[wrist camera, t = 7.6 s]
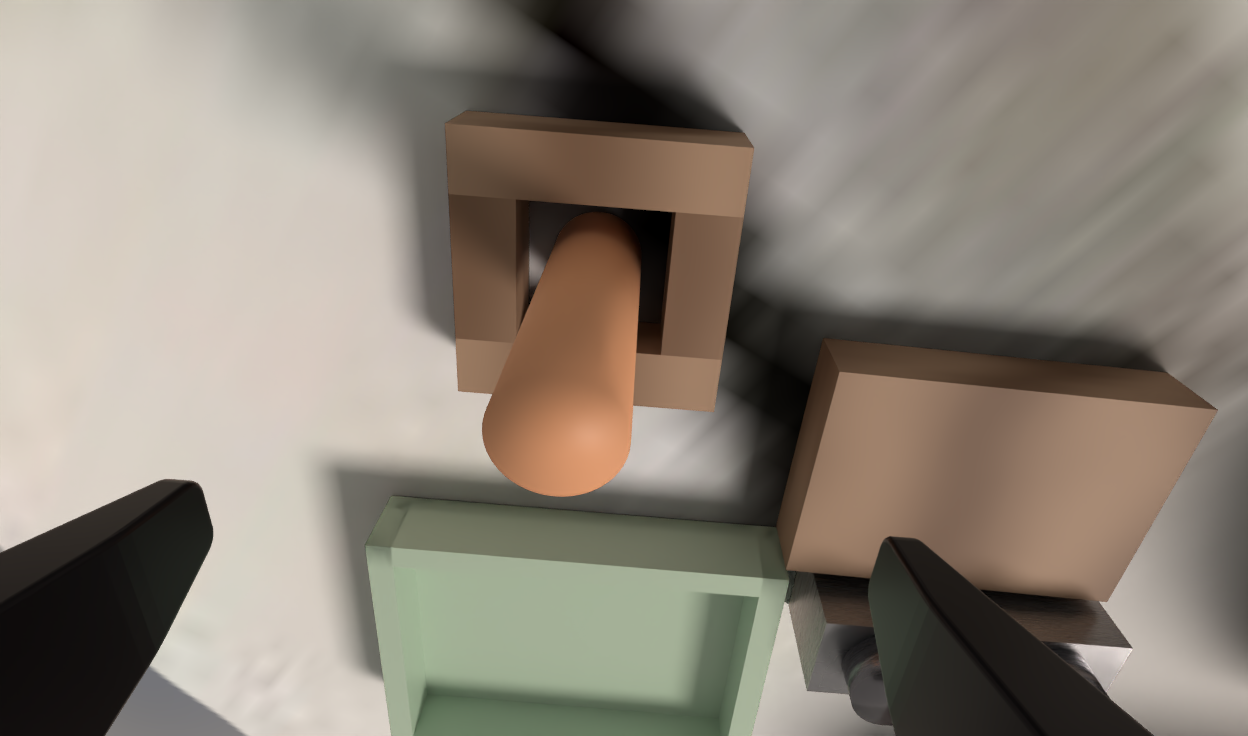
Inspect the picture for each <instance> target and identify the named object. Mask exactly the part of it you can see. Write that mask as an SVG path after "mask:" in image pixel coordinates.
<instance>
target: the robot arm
mask: <svg viewBox="0 0 1248 736" xmlns="http://www.w3.org/2000/svg"><path fill="white" fill-rule="evenodd" d="M212 541H213V526H212V523H211V519H210V515H209V512H208V508H207V504H206V501H205V497H204V493H203V490H202V488H201V486H200V485H199V484H198V483H196V482H194V481H189V480H176V479H164V480H160V481H158V482H155V483H153V484H151V485H149V486H147V487H144V488H142V489H140V490H138V491H136V492H133V493H131V494H129V495H127V496H125V497H122V498H120V499H118V500H116V501H113V502H111V503H109V504H107V505H105V506H102V507H100V508H98V509H96V510H94V511H91V512H89V513H87V514H85V515H83V516H80V517H78V518H76V519H74V520H72V521H69V522H67V523H65V524H63V525H60V526H58V527H56V528H54V529H52V530H49V531H47V532H45V533H43V534H41V535H38V536H36V537H34V538H32V539H30V540H27V541H25V542H23V543H21V544H19V545H16V546H14V547H12V548H10V549H7V550H5V551H3V552H1V553H0V736H105V735H106V733H107V732H108V730H109V729H110V727H111V726H112V724H113V722H114V721H115V719H116V718H117V716H118V715H119V713H120V711H121V710H122V708H123V707H124V705H125V704H126V702H127V700H128V699H129V697H130V696H131V694H132V692H133V691H134V689H135V688H136V686H137V685H138V683H139V681H140V680H141V678H142V677H143V675H144V674H145V672H146V670H147V669H148V667H149V665H150V664H151V662H152V660H153V659H154V657H155V655H156V654H157V652H158V650H159V648H160V646H161V645H162V643H163V641H164V639H165V637H166V635H167V633H168V631H169V629H170V627H171V625H172V623H173V621H174V619H175V617H176V615H177V613H178V611H179V609H180V607H181V605H182V603H183V601H184V599H185V597H186V595H187V593H188V591H189V590H190V588H191V586H192V584H193V582H194V580H195V578H196V576H197V574H198V572H199V570H200V568H201V566H202V564H203V562H204V560H205V558H206V556H207V554H208V552H209V550H210V547H211V544H212ZM868 598H869V605H870V610H871V616H872V621H873V627H874V632H875V638H876V643H877V649H878V654H879V660H880V665H881V671H882V676H883V682H884V687H885V693H886V698H887V702H888V707H889V712H890V716H891V719H892V723H893V727H894V731H895V734H896V736H1154V735H1153V734H1151V733H1150V732H1149V731H1148V730H1147V729H1145V728H1144V727H1143V726H1142V725H1141V724H1139V723H1138V722H1137V721H1136V720H1135V719H1133V718H1132V717H1131V716H1130V715H1129V714H1127V713H1126V712H1125V711H1124V710H1123V709H1121V708H1120V707H1119V706H1118V705H1117V704H1115V703H1114V702H1113V701H1112V700H1111V699H1110V698H1108V697H1107V696H1106V695H1105V694H1104V693H1102V692H1101V691H1100V690H1099V689H1098V688H1096V687H1095V686H1094V685H1093V684H1092V683H1090V682H1089V681H1088V680H1087V679H1086V678H1084V677H1083V676H1082V675H1081V674H1080V673H1078V672H1077V671H1076V670H1075V669H1074V668H1072V667H1071V666H1070V665H1069V664H1068V663H1066V662H1065V661H1064V660H1063V659H1062V658H1060V657H1059V656H1058V655H1057V654H1056V653H1055V652H1053V651H1052V650H1051V649H1050V648H1049V647H1047V646H1046V645H1045V644H1044V643H1043V642H1041V641H1040V640H1039V639H1038V638H1037V637H1035V636H1034V635H1033V634H1032V633H1031V632H1029V631H1028V630H1027V629H1026V628H1025V627H1023V626H1022V625H1021V624H1020V623H1019V622H1017V621H1016V620H1015V619H1014V618H1013V617H1011V616H1010V615H1009V614H1008V613H1007V612H1005V611H1004V610H1003V609H1002V608H1001V607H1000V606H998V605H997V604H996V603H995V602H994V601H992V600H991V599H990V598H989V597H988V596H986V595H985V594H984V593H983V592H982V591H980V590H979V589H978V588H977V587H976V586H974V585H973V584H972V583H971V582H970V581H968V580H967V579H966V578H965V577H964V576H962V575H961V574H960V573H959V572H958V571H956V570H955V569H954V568H953V567H952V566H950V565H949V564H948V563H947V562H946V561H945V560H943V559H942V558H941V557H940V556H939V555H937V554H936V553H935V552H934V551H933V550H931V549H930V548H929V547H928V546H927V545H925V544H924V543H923V542H922V541H920V540H918V539H916V538H909V537H896V536H889V537H887V538H885V539H884V540H883V542H882V544H881V546H880V549H879V552H878V555H877V559H876V562H875V565H874V568H873V571H872V575H871V578H870V581H869V587H868Z"/></svg>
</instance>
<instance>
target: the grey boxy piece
mask: <svg viewBox="0 0 1248 736" xmlns="http://www.w3.org/2000/svg"><path fill="white" fill-rule="evenodd" d="M869 581H870V578H861V577H851V576H841V575H831V574H821V573H810V572H800V571H797V573H796V577H795V581H794V585H793V589H792V593H791V597H790V601H789V609H790V614H791V619H792V623H793V628H794V633H795V637H796V642H797V647H798V651H799V656H800V660H801V665H802V670H803V674H804V679H805V684H806V688H807V691H816V692H828V693H840V694H849V696H850V700H851V703H852V707H853V709H854V711H855V712H856V713H857V715H858V716H860V717H861V718H862V719H864V720H866V721H868V722H871V723H874V724H879V725H893V723H892V719H891V716H890V712H889V707H888V702H887V698H886V693H885V687H884V682H883V676H882V671H881V665H880V660H879V654H878V649H877V643H876V638H875V632H874V627H873V621H872V616H871V610H870V605H869V598H868V587H869ZM979 590H980V591H982V592H983V593H984V594H985V595H986V596H988V597H989V598H990V599H991V600H992V601H994V602H995V603H996V604H997V605H998V606H1000V607H1001V608H1002V609H1003V610H1004V611H1005V612H1007V613H1008V614H1009V615H1010V616H1011V617H1013V618H1014V619H1015V620H1016V621H1017V622H1019V623H1020V624H1021V625H1022V626H1023V627H1025V628H1026V629H1027V630H1028V631H1029V632H1031V633H1032V634H1033V635H1034V636H1035V637H1037V638H1038V639H1039V640H1040V641H1041V642H1043V643H1044V644H1045V645H1046V646H1047V647H1049V648H1050V649H1051V650H1052V651H1053V652H1055V653H1056V654H1057V655H1058V656H1059V657H1060V658H1062V659H1063V660H1064V661H1065V662H1066V663H1068V664H1069V665H1070V666H1071V667H1072V668H1074V669H1075V670H1076V671H1077V672H1078V673H1080V674H1081V675H1082V676H1083V677H1084V678H1086V679H1087V680H1088V681H1089V682H1090V683H1092V684H1093V685H1094V686H1095V687H1096V688H1098V689H1099V690H1100V691H1101V692H1102V693H1104V694H1105V695H1106V696H1107V697H1108V698H1109V696H1108V695H1107V691H1108V689H1109V688H1110V686H1111V684H1112V683H1113V681H1114V679H1115V678H1116V676H1117V674H1118V673H1119V671H1120V669H1121V668H1122V666H1123V664H1124V663H1125V661H1126V659H1127V658H1128V656H1129V654H1130V653H1131V651H1132V649H1133V648H1132V647H1131V645H1130V644H1129V642H1128V641H1127V640H1126V638H1125V637H1124V636H1123V634H1122V633H1121V631H1120V630H1119V629H1118V627H1117V626H1116V625H1115V623H1114V622H1113V621H1112V619H1111V618H1110V616H1109V615H1108V614H1107V612H1106V611H1105V610H1104V608H1103V607H1102V605H1101V604H1100V603H1099V601H1092V600H1082V599H1072V598H1062V597H1052V596H1042V595H1031V594H1021V593H1011V592H1001V591H991V590H981V589H979Z"/></svg>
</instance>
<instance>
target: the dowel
mask: <svg viewBox="0 0 1248 736" xmlns="http://www.w3.org/2000/svg"><path fill="white" fill-rule="evenodd" d="M641 260H642V251H641V245H640V242H639V239H638V237H637V235H636V233H635V232H634V230H633V229H632V228H631V227H630V226H629V225H628V224H627V223H626V222H625V221H624V220H622V219H621V218H619V217H617V216H615V215H612V214H609V213H605V212H588V213H584V214H581V215H579V216H577V217H575V218H573V219H572V220H570V221H569V222H568V223H567V224H566V225H565V226H564V227H563V229H562V230H561V231H560V233H559V235H558V237H557V240H556V242H555V244H554V247H553V249H552V252H551V254H550V257H549V259H548V261H547V264H546V266H545V269H544V271H543V273H542V276H541V278H540V281H539V283H538V285H537V288H536V290H535V293H534V295H533V298H532V300H531V302H530V305H529V307H528V310H527V312H526V314H525V317H524V319H523V322H522V324H521V326H520V329H519V331H518V334H517V336H516V339H515V341H514V343H513V346H512V348H511V351H510V353H509V355H508V358H507V360H506V363H505V365H504V367H503V370H502V372H501V375H500V377H499V380H498V382H497V384H496V387H495V389H494V392H493V394H492V396H491V399H490V401H489V404H488V406H487V409H486V411H485V414H484V418H483V423H482V435H483V441H484V445H485V448H486V451H487V453H488V455H489V457H490V459H491V460H492V462H493V463H494V465H495V466H496V467H497V468H498V470H499V471H501V472H502V473H503V474H504V475H505V476H506V477H507V478H508V479H510V480H511V481H512V482H514V483H516V484H517V485H519V486H521V487H523V488H525V489H527V490H530V491H533V492H535V493H539V494H543V495H549V496H562V497H565V496H575V495H580V494H584V493H588V492H591V491H593V490H595V489H598V488H600V487H601V486H603V485H605V484H606V483H608V482H609V481H610V480H611V479H613V478H614V477H615V476H616V474H617V473H618V472H619V471H620V470H621V468H622V467H623V465H624V463H625V461H626V460H627V457H628V454H629V451H630V445H631V431H632V414H633V397H634V380H635V363H636V346H637V329H638V312H639V294H640V277H641Z"/></svg>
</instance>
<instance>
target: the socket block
mask: <svg viewBox="0 0 1248 736" xmlns="http://www.w3.org/2000/svg"><path fill="white" fill-rule="evenodd" d="M445 136H446V156H447V176H448V196H449V217H450V237H451V257H452V277H453V297H454V317H455V338H456V358H457V378H458V391H462V392H474V393H487V394H493V392H494V389H495V387H496V384H497V382H498V380H499V377H500V375H501V372H502V370H503V367H504V365H505V363H506V360H507V358H508V355H509V353H510V351H511V348H512V346H513V343H514V341H515V339H516V336H517V334H518V331H519V329H520V326H521V324H522V322H523V319H524V317H525V314H526V312H527V310H528V307H529V201H542V202H554V203H567V204H579V205H592V206H604V207H617V208H629V209H642V210H654V211H667V212H672V217H671V227H670V237H669V246H668V256H667V266H666V275H665V285H664V295H663V305H662V314H661V324H660V323H647V322H638V329H637V346H636V363H635V380H634V397H633V405H634V406H646V407H659V408H671V409H683V410H696V411H708V412H714V408H715V401H716V395H717V388H718V382H719V375H720V369H721V362H722V355H723V349H724V342H725V336H726V329H727V323H728V316H729V310H730V303H731V297H732V290H733V283H734V277H735V270H736V264H737V257H738V251H739V244H740V238H741V231H742V225H743V218H744V211H745V205H746V198H747V192H748V185H749V179H750V172H751V166H752V159H753V153H754V147H753V145H752V144H751V142H750V141H749V139H748V138H747V136H746V134H745V133H741V132H729V131H716V130H704V129H691V128H678V127H666V126H653V125H641V124H628V123H616V122H603V121H590V120H578V119H565V118H553V117H540V116H527V115H515V114H502V113H490V112H477V111H465V112H463V113H461V114H460V115H458V116H456V117H455V118H453V119H451V120H450V121H448V122H446V123H445Z"/></svg>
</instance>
